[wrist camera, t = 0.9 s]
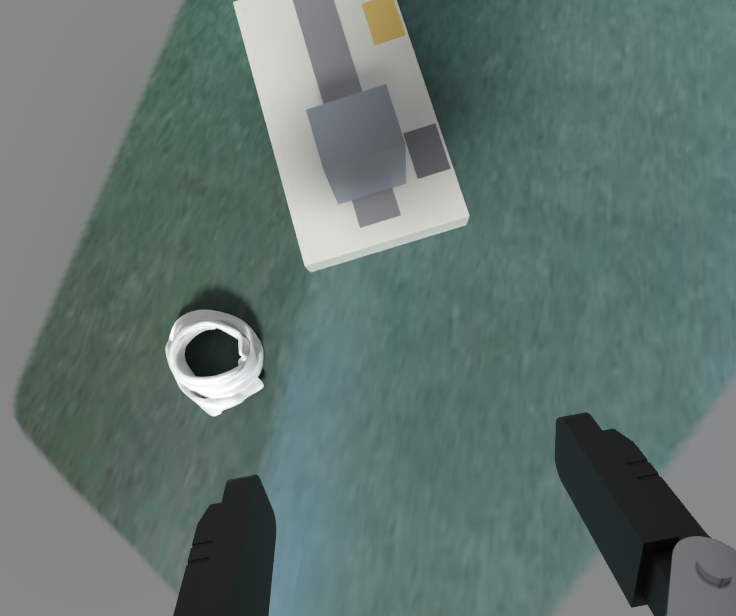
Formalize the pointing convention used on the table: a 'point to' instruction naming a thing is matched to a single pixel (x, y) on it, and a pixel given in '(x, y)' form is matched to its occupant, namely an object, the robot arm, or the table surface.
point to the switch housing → (335, 81)
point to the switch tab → (359, 144)
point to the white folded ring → (224, 386)
